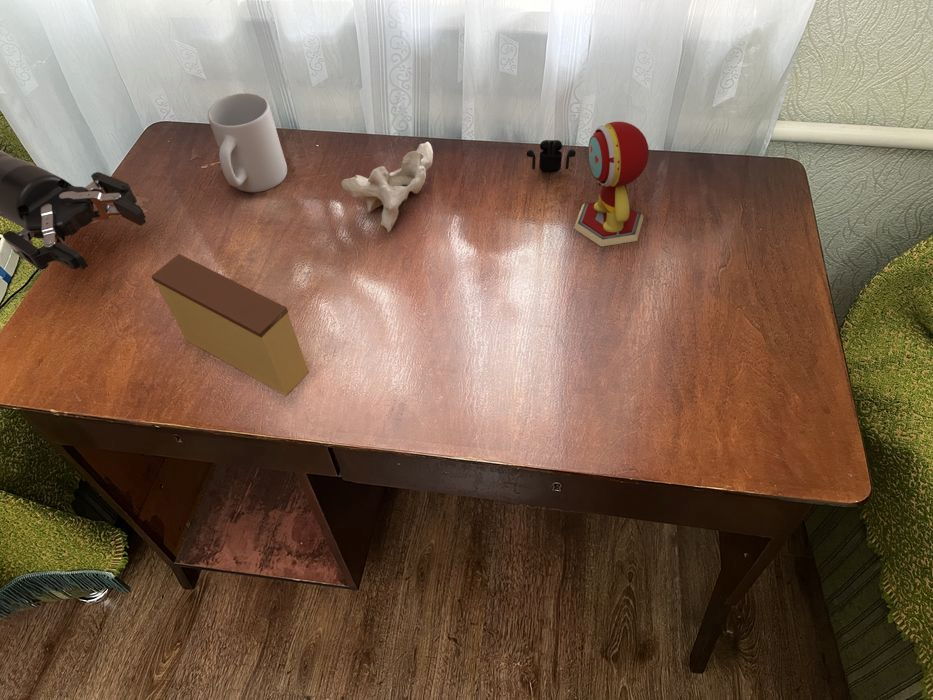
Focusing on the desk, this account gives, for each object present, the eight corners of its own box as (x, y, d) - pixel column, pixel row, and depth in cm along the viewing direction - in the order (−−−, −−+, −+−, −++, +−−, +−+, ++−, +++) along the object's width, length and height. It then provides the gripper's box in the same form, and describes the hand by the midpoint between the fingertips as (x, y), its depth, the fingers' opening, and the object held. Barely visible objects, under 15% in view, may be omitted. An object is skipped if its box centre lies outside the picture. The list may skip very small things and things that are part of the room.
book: (186, 340, 84) (150, 276, 75) (210, 318, 86) (178, 253, 77) (285, 396, 78) (259, 333, 70) (309, 371, 80) (286, 307, 72)
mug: (243, 155, 107) (221, 90, 99) (295, 160, 106) (278, 94, 97) (212, 205, 100) (185, 139, 91) (267, 211, 99) (246, 145, 90)
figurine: (564, 208, 97) (574, 112, 85) (632, 197, 98) (651, 101, 86) (583, 249, 92) (596, 153, 80) (654, 238, 92) (677, 141, 81)
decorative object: (353, 219, 99) (334, 171, 93) (418, 166, 105) (404, 118, 99) (396, 236, 94) (378, 187, 88) (462, 180, 100) (449, 130, 94)
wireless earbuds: (526, 173, 102) (527, 144, 98) (525, 163, 104) (527, 133, 100) (573, 173, 102) (577, 143, 98) (573, 163, 103) (576, 133, 99)
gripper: (-45, 203, 79) (44, 253, 74) (59, 138, 87) (147, 179, 81) (-8, 251, 85) (78, 300, 80) (86, 186, 93) (171, 228, 87)
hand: (113, 239), depth 80 cm, fingers open, 8 cm apart
